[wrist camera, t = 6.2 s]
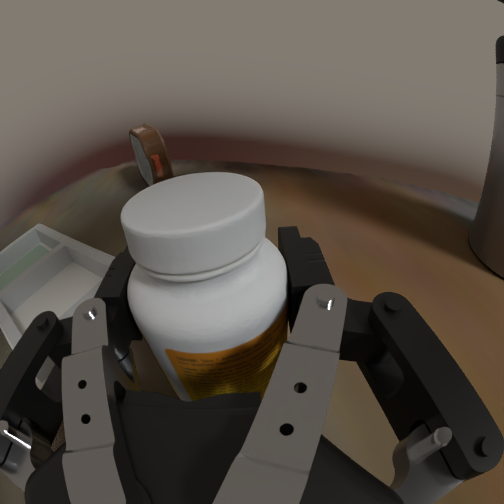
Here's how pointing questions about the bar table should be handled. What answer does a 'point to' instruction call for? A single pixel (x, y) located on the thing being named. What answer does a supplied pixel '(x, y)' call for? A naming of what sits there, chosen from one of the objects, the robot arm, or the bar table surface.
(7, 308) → the compartment tray
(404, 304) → the robot arm
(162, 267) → the supplement bottle
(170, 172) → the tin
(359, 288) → the bar table surface
